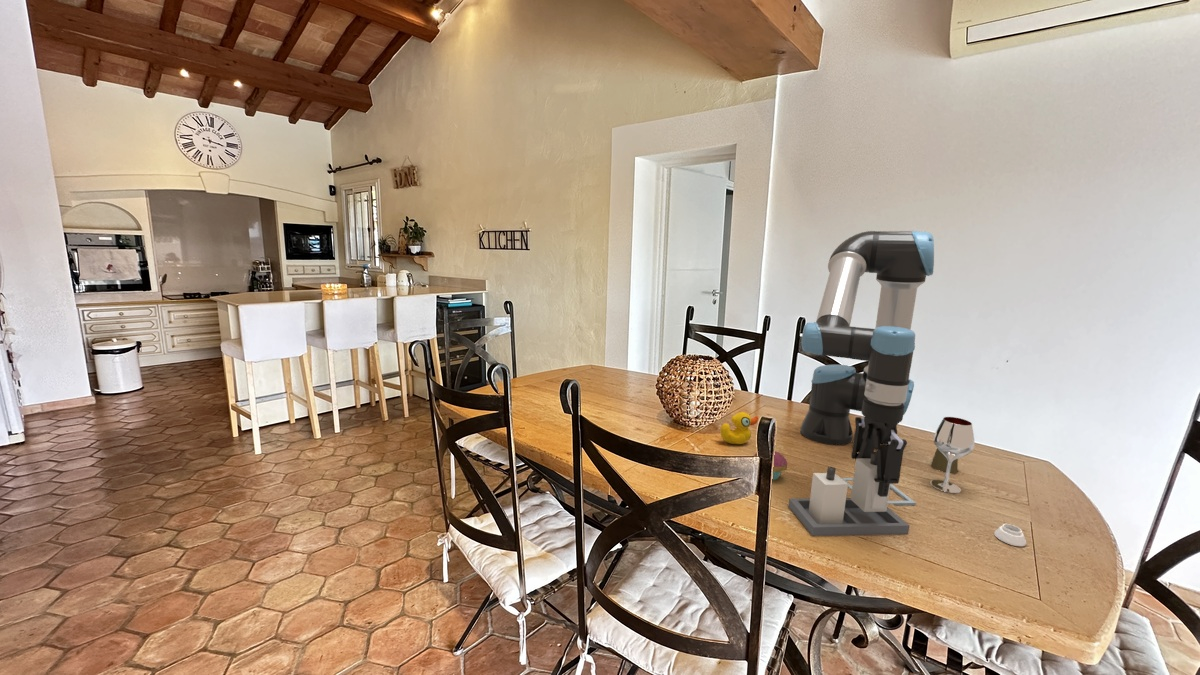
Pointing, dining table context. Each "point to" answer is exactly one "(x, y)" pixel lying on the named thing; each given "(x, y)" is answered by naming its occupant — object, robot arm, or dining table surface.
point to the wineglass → (952, 447)
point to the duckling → (738, 428)
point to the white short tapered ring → (1010, 535)
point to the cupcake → (778, 464)
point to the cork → (943, 463)
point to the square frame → (905, 497)
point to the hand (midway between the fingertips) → (868, 500)
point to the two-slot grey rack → (850, 521)
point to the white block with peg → (865, 483)
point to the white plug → (827, 497)
